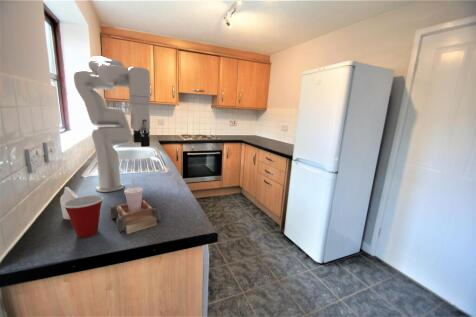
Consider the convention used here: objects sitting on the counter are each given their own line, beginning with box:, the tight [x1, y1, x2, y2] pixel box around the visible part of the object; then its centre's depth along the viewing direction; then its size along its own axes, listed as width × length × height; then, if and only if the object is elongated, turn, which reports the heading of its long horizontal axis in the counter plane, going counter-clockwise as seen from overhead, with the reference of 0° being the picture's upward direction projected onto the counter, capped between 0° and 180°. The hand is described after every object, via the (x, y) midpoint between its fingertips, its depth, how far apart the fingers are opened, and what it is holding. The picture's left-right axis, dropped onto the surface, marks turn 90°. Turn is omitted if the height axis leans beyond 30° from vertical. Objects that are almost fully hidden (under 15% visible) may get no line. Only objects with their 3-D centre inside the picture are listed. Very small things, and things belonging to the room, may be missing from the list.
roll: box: [59, 186, 79, 220], centre depth 82 cm, size 6×12×6 cm
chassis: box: [109, 198, 161, 235], centre depth 82 cm, size 18×14×5 cm
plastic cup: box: [63, 194, 104, 239], centre depth 71 cm, size 11×11×12 cm
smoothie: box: [124, 178, 144, 213], centre depth 81 cm, size 6×6×14 cm
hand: (141, 144), depth 89 cm, fingers open, 9 cm apart
